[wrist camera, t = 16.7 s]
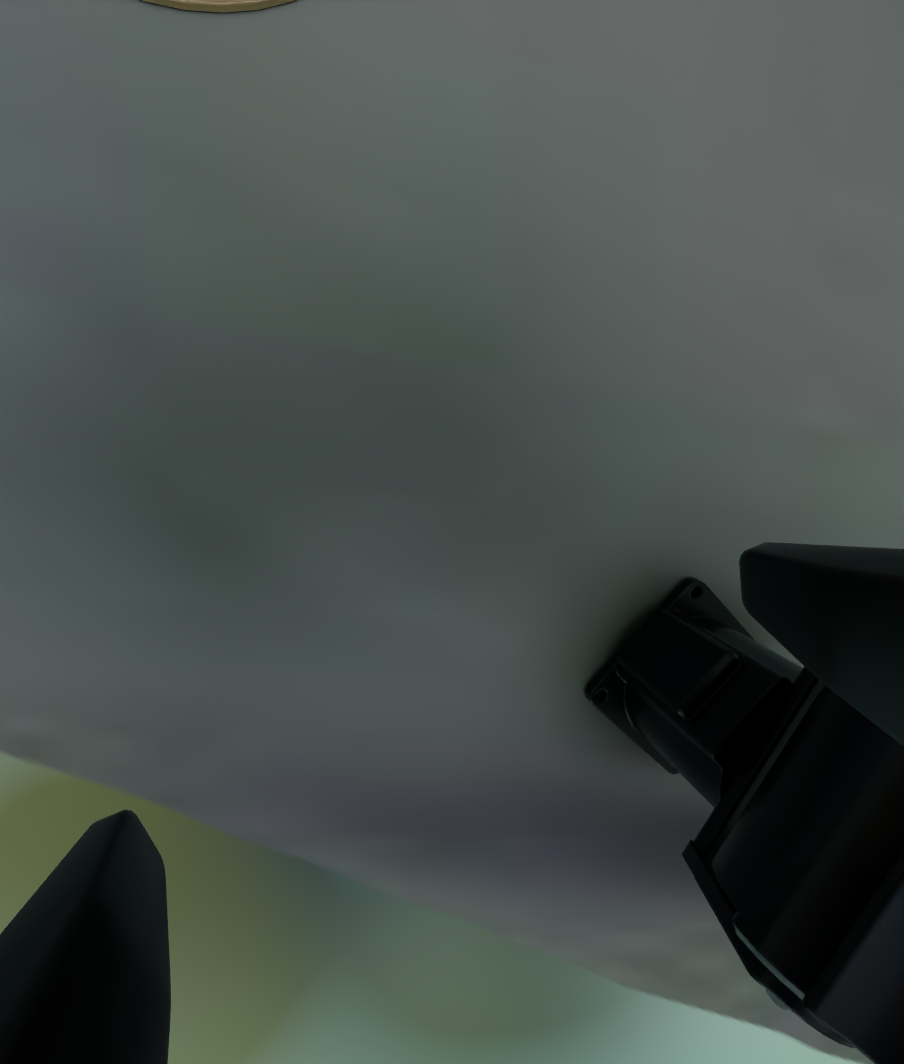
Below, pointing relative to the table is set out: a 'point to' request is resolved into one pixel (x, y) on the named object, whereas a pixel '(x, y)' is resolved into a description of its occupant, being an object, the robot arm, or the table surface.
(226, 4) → the beige flat disc
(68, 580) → the table surface
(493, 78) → the table surface
